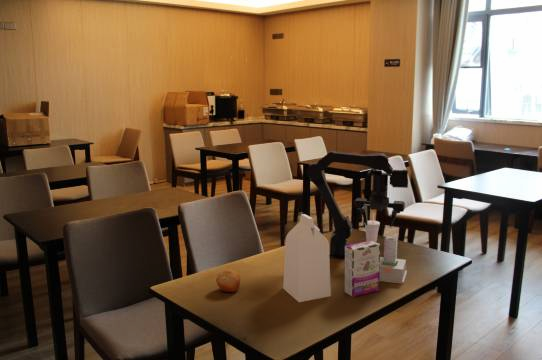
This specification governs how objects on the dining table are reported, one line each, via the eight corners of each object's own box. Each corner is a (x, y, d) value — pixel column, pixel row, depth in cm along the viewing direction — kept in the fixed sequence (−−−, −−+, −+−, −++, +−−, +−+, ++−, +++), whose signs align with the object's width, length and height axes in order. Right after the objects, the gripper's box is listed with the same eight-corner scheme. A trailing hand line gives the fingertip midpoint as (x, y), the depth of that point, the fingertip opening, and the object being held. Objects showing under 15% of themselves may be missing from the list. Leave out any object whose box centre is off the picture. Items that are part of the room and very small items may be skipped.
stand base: (371, 280, 182) (371, 266, 181) (376, 268, 192) (376, 256, 191) (403, 284, 178) (404, 270, 177) (407, 272, 188) (407, 259, 187)
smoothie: (380, 246, 216) (381, 214, 214) (365, 247, 216) (366, 214, 214) (377, 242, 223) (378, 210, 220) (362, 242, 223) (363, 210, 220)
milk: (283, 288, 175) (282, 213, 170) (313, 282, 180) (314, 210, 175) (298, 302, 165) (299, 223, 159) (330, 296, 169) (331, 219, 164)
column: (382, 265, 183) (383, 239, 181) (384, 261, 187) (385, 236, 185) (395, 267, 182) (396, 241, 180) (396, 262, 185) (398, 237, 184)
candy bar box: (370, 285, 177) (371, 239, 174) (379, 291, 173) (381, 243, 169) (343, 292, 172) (344, 244, 169) (352, 297, 168) (353, 249, 164)
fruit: (246, 280, 178) (241, 266, 173) (239, 300, 173) (233, 285, 168) (224, 278, 181) (219, 263, 176) (217, 296, 175) (211, 282, 170)
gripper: (351, 189, 193) (350, 229, 196) (402, 193, 187) (400, 234, 190) (357, 183, 203) (356, 222, 207) (406, 186, 197) (404, 226, 200)
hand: (378, 226), depth 201 cm, fingers open, 9 cm apart
